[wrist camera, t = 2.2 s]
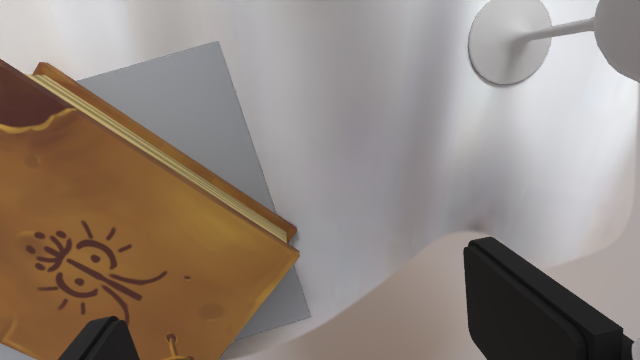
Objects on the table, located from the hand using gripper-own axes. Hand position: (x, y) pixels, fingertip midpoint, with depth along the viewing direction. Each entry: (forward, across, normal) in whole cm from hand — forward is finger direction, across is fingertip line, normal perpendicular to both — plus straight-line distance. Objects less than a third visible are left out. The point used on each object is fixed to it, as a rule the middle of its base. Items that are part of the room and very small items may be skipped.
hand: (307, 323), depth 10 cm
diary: (+22, +15, +4) cm, 27 cm away
